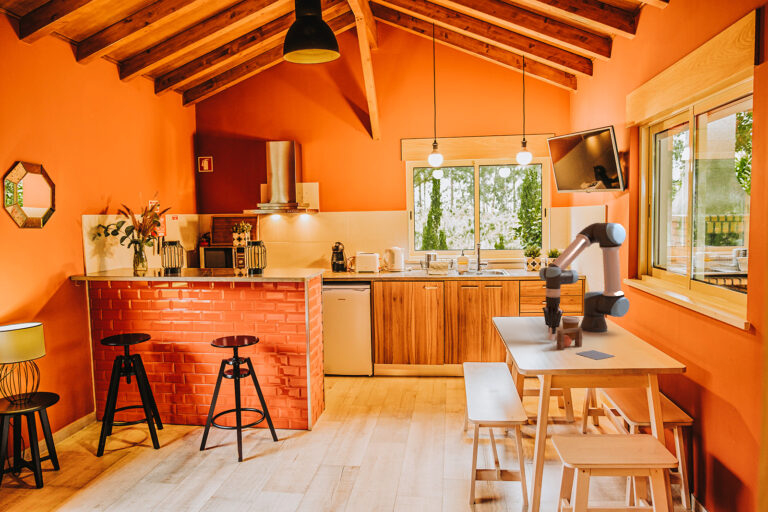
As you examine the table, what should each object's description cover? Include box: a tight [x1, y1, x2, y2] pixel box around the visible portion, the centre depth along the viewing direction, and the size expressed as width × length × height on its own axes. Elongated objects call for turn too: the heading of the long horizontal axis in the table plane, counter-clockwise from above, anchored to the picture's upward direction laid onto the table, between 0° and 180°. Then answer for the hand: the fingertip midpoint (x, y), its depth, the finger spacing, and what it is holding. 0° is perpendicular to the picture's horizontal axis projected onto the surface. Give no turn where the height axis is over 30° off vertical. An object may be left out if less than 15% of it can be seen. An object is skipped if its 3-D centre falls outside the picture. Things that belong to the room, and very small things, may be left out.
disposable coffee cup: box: [561, 315, 581, 341], centre depth 288 cm, size 10×10×12 cm
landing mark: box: [575, 349, 615, 361], centre depth 255 cm, size 13×13×1 cm
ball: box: [564, 335, 573, 348], centre depth 271 cm, size 6×6×6 cm
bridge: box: [556, 326, 583, 351], centre depth 268 cm, size 3×15×10 cm, turn 118°
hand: (552, 339), depth 279 cm, fingers closed
